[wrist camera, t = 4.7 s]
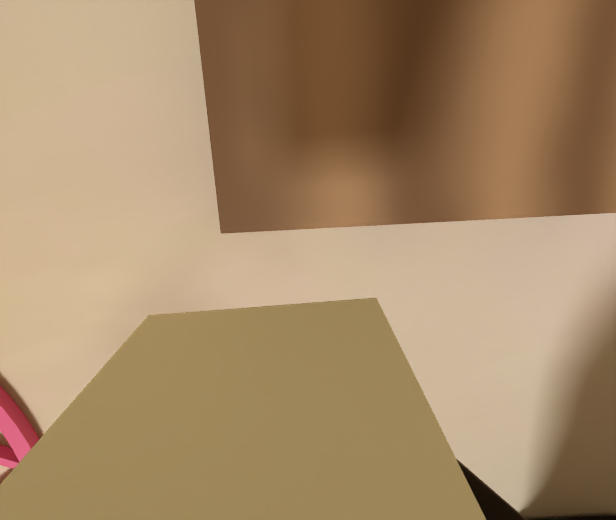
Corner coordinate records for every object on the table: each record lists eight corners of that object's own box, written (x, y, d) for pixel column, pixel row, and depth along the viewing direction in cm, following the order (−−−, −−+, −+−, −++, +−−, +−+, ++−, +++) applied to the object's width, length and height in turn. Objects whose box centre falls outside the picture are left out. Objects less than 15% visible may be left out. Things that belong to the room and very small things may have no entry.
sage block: (376, 297, 9) (526, 601, 3) (381, 480, 10) (489, 926, 4) (148, 315, 9) (-147, 651, 3) (185, 495, 10) (34, 960, 4)
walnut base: (641, -254, 14) (729, -358, 11) (578, 201, 18) (629, 211, 16) (187, -230, 14) (157, -328, 11) (233, 219, 18) (221, 233, 16)
